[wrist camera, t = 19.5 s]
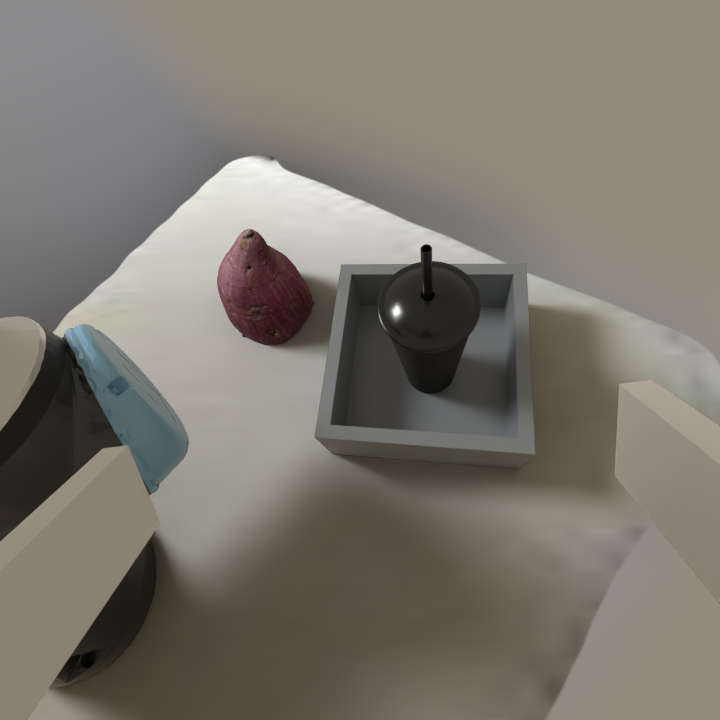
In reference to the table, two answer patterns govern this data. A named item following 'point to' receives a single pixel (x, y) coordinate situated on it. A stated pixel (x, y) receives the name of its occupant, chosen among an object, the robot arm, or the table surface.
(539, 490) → the table surface
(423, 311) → the drinking cup
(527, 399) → the bin
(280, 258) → the vegetable
